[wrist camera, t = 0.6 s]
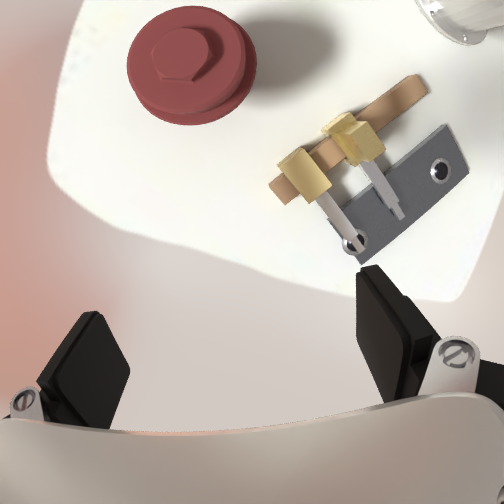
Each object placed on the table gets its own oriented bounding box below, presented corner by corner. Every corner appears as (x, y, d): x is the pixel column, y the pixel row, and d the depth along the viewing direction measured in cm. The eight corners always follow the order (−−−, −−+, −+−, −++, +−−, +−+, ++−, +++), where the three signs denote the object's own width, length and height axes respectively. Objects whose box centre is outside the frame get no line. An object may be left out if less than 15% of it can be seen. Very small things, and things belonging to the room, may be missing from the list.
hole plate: (441, 125, 29) (447, 125, 27) (464, 171, 31) (469, 173, 30) (322, 222, 33) (325, 225, 32) (354, 264, 36) (357, 268, 34)
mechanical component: (268, 106, 28) (177, 140, 30) (235, 25, 25) (146, 60, 26) (280, 93, 17) (136, 149, 18) (229, -28, 13) (95, 30, 15)
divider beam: (402, 68, 26) (416, 64, 23) (455, 158, 30) (470, 162, 27) (261, 176, 31) (263, 181, 28) (332, 261, 35) (339, 273, 32)
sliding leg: (341, 113, 28) (365, 110, 22) (403, 205, 32) (434, 224, 26) (320, 129, 29) (339, 130, 23) (385, 220, 33) (412, 242, 27)
